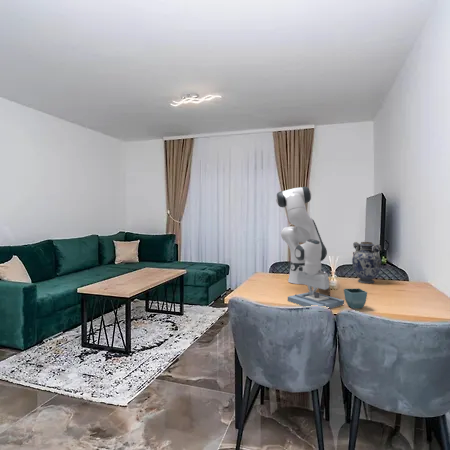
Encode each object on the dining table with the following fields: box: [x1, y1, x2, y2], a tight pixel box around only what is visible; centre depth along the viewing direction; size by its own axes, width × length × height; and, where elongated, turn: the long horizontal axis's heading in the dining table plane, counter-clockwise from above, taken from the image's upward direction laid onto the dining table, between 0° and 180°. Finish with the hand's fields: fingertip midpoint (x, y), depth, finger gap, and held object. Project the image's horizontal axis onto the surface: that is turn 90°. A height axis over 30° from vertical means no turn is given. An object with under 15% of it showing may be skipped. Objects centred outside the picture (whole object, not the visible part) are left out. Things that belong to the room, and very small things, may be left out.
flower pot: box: [343, 288, 368, 309], centre depth 171 cm, size 9×9×9 cm
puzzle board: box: [287, 291, 345, 309], centre depth 179 cm, size 20×22×3 cm
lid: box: [305, 291, 329, 301], centre depth 178 cm, size 9×9×3 cm
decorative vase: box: [351, 241, 382, 285], centre depth 229 cm, size 21×19×28 cm
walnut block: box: [318, 285, 331, 297], centre depth 192 cm, size 4×4×6 cm
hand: (312, 294), depth 180 cm, fingers closed
